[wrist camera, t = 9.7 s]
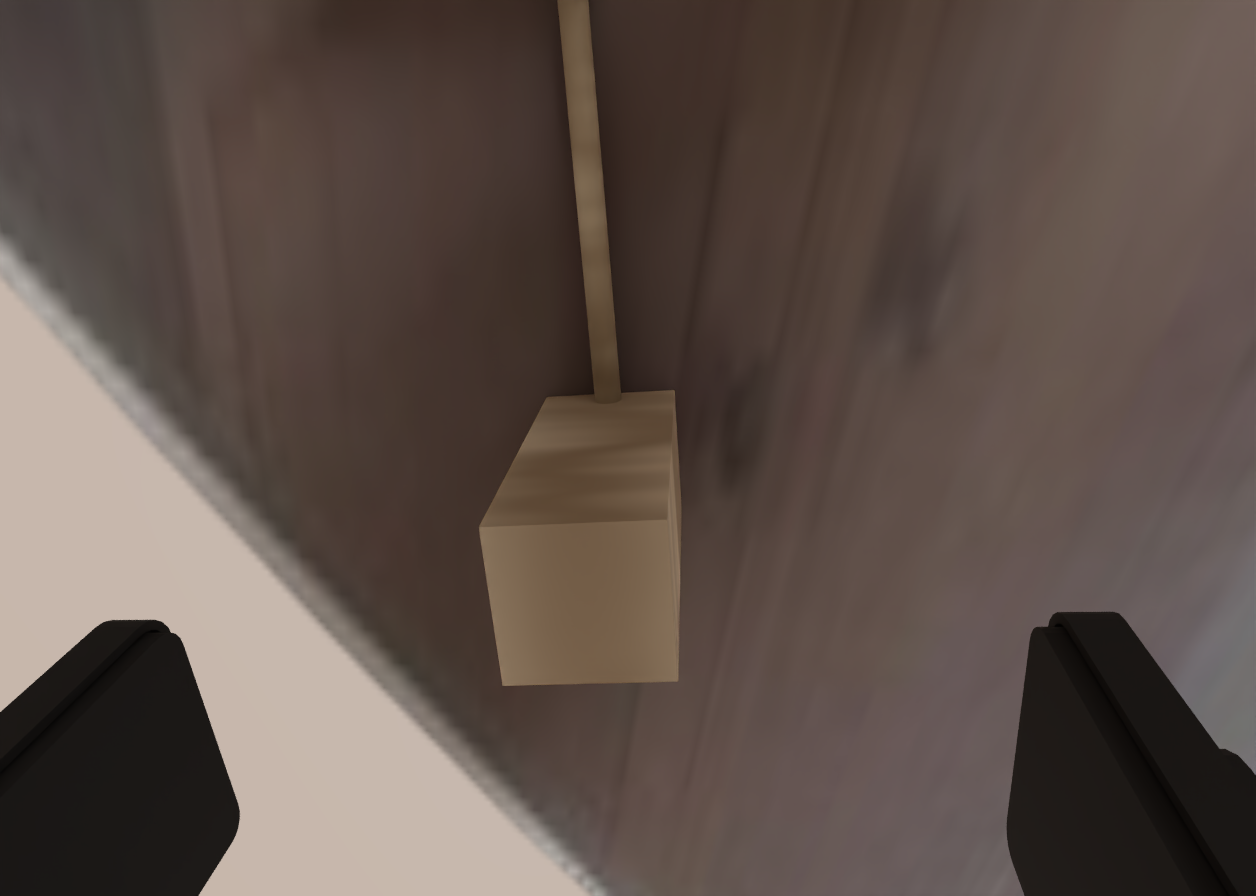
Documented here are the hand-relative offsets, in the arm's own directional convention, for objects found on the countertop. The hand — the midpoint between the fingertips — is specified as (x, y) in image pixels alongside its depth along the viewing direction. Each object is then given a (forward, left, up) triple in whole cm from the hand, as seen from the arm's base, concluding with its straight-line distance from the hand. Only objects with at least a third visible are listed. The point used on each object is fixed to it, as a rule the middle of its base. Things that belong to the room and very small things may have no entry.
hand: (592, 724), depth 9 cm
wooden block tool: (+1, -7, -11) cm, 13 cm away
